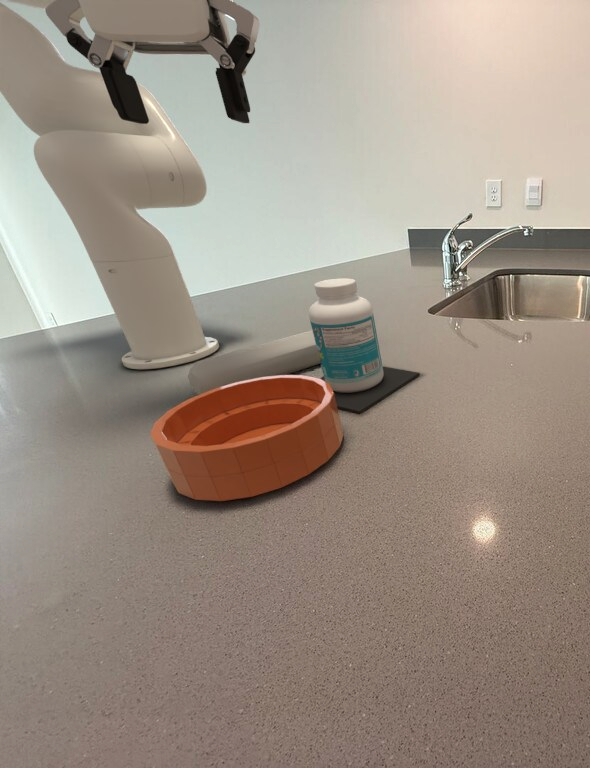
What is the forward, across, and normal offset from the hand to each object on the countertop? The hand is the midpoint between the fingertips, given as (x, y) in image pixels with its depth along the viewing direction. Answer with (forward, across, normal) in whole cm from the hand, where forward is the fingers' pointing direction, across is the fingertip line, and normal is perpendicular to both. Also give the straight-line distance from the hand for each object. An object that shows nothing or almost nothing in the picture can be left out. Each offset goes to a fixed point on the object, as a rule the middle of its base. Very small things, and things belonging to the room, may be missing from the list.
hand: (188, 121), depth 40 cm
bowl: (+30, -5, +15) cm, 34 cm away
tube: (+31, 0, -8) cm, 32 cm away
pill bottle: (+30, -11, -1) cm, 32 cm away
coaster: (+30, -11, -1) cm, 32 cm away
